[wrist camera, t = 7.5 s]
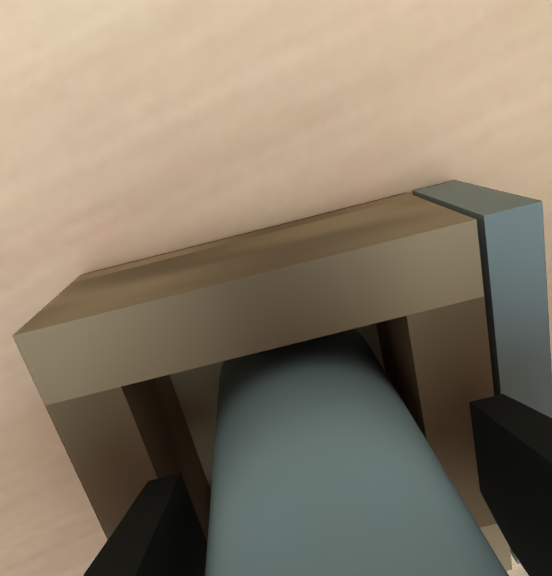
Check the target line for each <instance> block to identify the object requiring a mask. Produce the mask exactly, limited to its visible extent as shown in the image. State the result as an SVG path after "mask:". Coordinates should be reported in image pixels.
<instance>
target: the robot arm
mask: <svg viewBox="0 0 552 576" xmlns="http://www.w3.org/2000/svg"><path fill="white" fill-rule="evenodd" d="M469 405H470V413H471V422H472V430H473V438H474V446H475V454H476V462H477V470H478V479H479V487H480V492H481V494H482V496H483V498H484V500H485V502H486V504H487V506H488V508H489V509H490V511H491V513H492V515H493V517H494V519H495V521H496V523H497V525H498V526H499V528H500V530H501V532H502V534H503V536H504V537H505V539H506V541H507V543H508V545H509V546H510V548H511V550H512V551H513V553H514V554H515V556H516V557H517V559H518V560H519V562H520V563H521V564H522V566H523V567H524V569H525V570H526V572H527V573H528V575H529V576H552V418H550V417H548V416H546V415H544V414H542V413H540V412H538V411H536V410H534V409H533V408H531V407H529V406H527V405H525V404H523V403H521V402H519V401H517V400H515V399H512V398H510V397H508V396H506V395H504V394H500V395H496V396H492V397H487V398H483V399H479V400H475V401H471V402H469ZM206 554H207V541H206V538H205V536H204V533H203V530H202V528H201V525H200V522H199V520H198V517H197V514H196V512H195V509H194V506H193V504H192V501H191V498H190V496H189V493H188V490H187V488H186V485H185V483H184V480H183V477H182V475H181V473H178V474H174V475H170V476H166V477H162V478H158V479H154V480H149V481H148V482H147V483H146V485H145V486H144V488H143V489H142V490H141V492H140V493H139V495H138V496H137V498H136V499H135V501H134V502H133V504H132V505H131V507H130V508H129V510H128V511H127V513H126V514H125V516H124V517H123V518H122V520H121V521H120V523H119V524H118V526H117V527H116V529H115V530H114V532H113V533H112V535H111V536H110V538H109V539H108V541H107V542H106V544H105V545H104V546H103V548H102V549H101V551H100V552H99V554H98V555H97V557H96V558H95V559H94V561H93V562H92V564H91V565H90V567H89V568H88V569H87V571H86V572H85V574H84V575H83V576H205V568H206Z"/></svg>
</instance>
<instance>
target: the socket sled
mask: <svg viewBox="0 0 552 576" xmlns="http://www.w3.org/2000/svg"><path fill="white" fill-rule="evenodd" d="M351 329H356V330H357V331H358V332H359V333H360V334H361V335H362V336H363V337H364V339H365V340H366V341H367V343H368V345H369V346H370V348H371V349H372V351H373V353H374V354H375V356H376V358H377V359H378V361H379V363H380V364H381V366H382V368H383V369H384V371H385V372H386V374H387V376H388V377H389V379H390V381H391V382H392V384H393V386H394V387H395V389H396V391H397V392H398V394H399V396H400V397H401V399H402V401H403V402H404V404H405V405H406V407H407V409H408V410H409V412H410V414H411V415H412V417H413V419H414V420H415V422H416V424H417V425H418V427H419V429H420V430H421V432H422V433H423V435H424V437H425V438H426V440H427V442H428V443H429V445H430V447H431V448H432V450H433V452H434V453H435V455H436V457H437V458H438V460H439V461H440V463H441V465H442V466H443V468H444V470H445V471H446V473H447V475H448V476H449V478H450V480H451V481H452V483H453V485H454V486H455V488H456V490H457V491H458V493H459V494H460V496H461V498H462V499H463V501H464V503H465V504H466V506H467V508H468V509H469V511H470V513H471V514H472V516H473V518H474V519H475V521H476V522H477V524H478V526H479V527H480V529H481V531H482V532H483V534H484V536H485V537H486V539H487V541H488V542H489V544H490V546H491V547H492V549H493V550H494V552H495V554H496V555H497V557H498V559H499V560H500V562H501V564H502V565H503V567H504V569H505V570H506V571H507V570H512V564H511V554H510V546H509V545H508V543H507V541H506V539H505V537H504V536H503V534H502V532H501V530H500V528H499V526H498V525H497V523H496V521H495V519H494V517H493V515H492V513H491V511H490V509H489V508H488V506H487V504H486V502H485V500H484V498H483V496H482V494H481V492H480V487H479V479H478V470H477V462H476V454H475V446H474V438H473V430H472V422H471V413H470V405H469V402H471V401H475V400H479V399H483V398H487V397H492V396H494V387H493V377H492V367H491V358H490V348H489V338H488V328H487V318H486V309H485V299H484V289H483V279H482V269H481V259H480V250H479V240H478V230H477V220H476V219H474V218H472V217H469V216H466V215H464V214H461V213H459V212H456V211H453V210H451V209H448V208H446V207H443V206H440V205H438V204H435V203H432V202H430V201H427V200H425V199H422V198H419V197H417V196H414V195H412V194H409V193H405V194H401V195H397V196H393V197H389V198H385V199H381V200H377V201H373V202H369V203H365V204H361V205H357V206H353V207H349V208H345V209H341V210H337V211H333V212H329V213H325V214H321V215H317V216H314V217H310V218H306V219H302V220H298V221H294V222H290V223H286V224H282V225H278V226H274V227H270V228H266V229H262V230H258V231H254V232H250V233H246V234H242V235H238V236H234V237H230V238H226V239H222V240H218V241H214V242H210V243H206V244H203V245H199V246H195V247H191V248H187V249H183V250H179V251H175V252H171V253H167V254H163V255H159V256H155V257H151V258H147V259H143V260H139V261H135V262H131V263H127V264H123V265H119V266H115V267H111V268H107V269H103V270H99V271H96V272H92V273H88V274H84V275H80V276H79V277H78V278H77V279H76V280H74V281H73V282H72V283H71V284H70V285H69V286H68V287H67V288H65V289H64V290H63V291H62V292H61V293H60V294H59V295H58V296H57V297H55V298H54V299H53V300H52V301H51V302H50V303H49V304H48V305H46V306H45V307H44V308H43V309H42V310H41V311H40V312H39V313H37V314H36V315H35V316H34V317H33V318H32V319H31V320H30V321H29V322H27V323H26V324H25V325H24V326H23V327H22V328H21V329H20V330H18V331H17V332H16V333H15V334H14V335H13V338H14V340H15V342H16V344H17V347H18V349H19V351H20V353H21V355H22V357H23V359H24V361H25V364H26V366H27V368H28V370H29V372H30V374H31V376H32V379H33V381H34V383H35V385H36V387H37V389H38V391H39V394H40V396H41V398H42V400H43V402H44V404H45V406H46V409H47V411H48V413H49V415H50V417H51V419H52V421H53V424H54V426H55V428H56V430H57V432H58V434H59V436H60V439H61V441H62V443H63V445H64V447H65V449H66V451H67V454H68V456H69V458H70V460H71V462H72V464H73V466H74V469H75V471H76V473H77V475H78V477H79V479H80V481H81V483H82V486H83V488H84V490H85V492H86V494H87V496H88V498H89V501H90V503H91V505H92V507H93V509H94V511H95V513H96V516H97V518H98V520H99V522H100V524H101V526H102V528H103V531H104V533H105V535H106V537H107V539H109V538H110V536H111V535H112V533H113V532H114V530H115V529H116V527H117V526H118V524H119V523H120V521H121V520H122V518H123V517H124V516H125V514H126V513H127V511H128V510H129V508H130V507H131V505H132V504H133V502H134V501H135V499H136V498H137V496H138V495H139V493H140V492H141V490H142V489H143V488H144V486H145V485H146V483H147V482H148V481H149V480H154V479H158V478H162V477H166V476H170V475H174V474H178V473H181V475H182V477H183V480H184V483H185V485H186V488H187V490H188V493H189V496H190V498H191V501H192V504H193V506H194V509H195V512H196V514H197V517H198V520H199V522H200V525H201V528H202V530H203V533H204V536H205V538H206V541H208V527H209V514H210V500H211V486H212V473H213V459H214V445H215V432H216V418H217V404H218V391H219V377H220V372H221V367H222V364H223V362H224V361H226V360H230V359H234V358H238V357H242V356H246V355H250V354H254V353H258V352H262V351H266V350H270V349H274V348H278V347H282V346H286V345H290V344H294V343H298V342H302V341H306V340H310V339H314V338H318V337H322V336H327V335H331V334H335V333H339V332H343V331H347V330H351Z"/></svg>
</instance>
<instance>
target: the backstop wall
mask: <svg viewBox="0 0 552 576" xmlns="http://www.w3.org/2000/svg"><path fill="white" fill-rule="evenodd" d="M413 193H414V196H417V197H419V198H422V199H425V200H427V201H430V202H432V203H435V204H438V205H440V206H443V207H446V208H448V209H451V210H453V211H456V212H459V213H461V214H464V215H466V216H469V217H472V218H474V219H476V220H477V230H478V240H479V250H480V259H481V269H482V279H483V289H484V299H485V309H486V318H487V328H488V338H489V348H490V358H491V367H492V377H493V387H494V396H496V395H500V394H504V395H506V396H508V397H510V398H512V399H515V400H517V401H519V402H521V403H523V404H525V405H527V406H529V407H531V408H533V409H534V410H536V411H538V412H540V413H542V414H544V415H546V416H548V417H550V418H552V371H551V353H550V335H549V317H548V298H547V280H546V262H545V244H544V225H543V207H542V201H540V200H535V199H531V198H527V197H523V196H519V195H514V194H510V193H506V192H502V191H498V190H494V189H489V188H485V187H481V186H477V185H473V184H468V183H464V182H460V181H456V180H453V181H449V182H445V183H441V184H437V185H433V186H429V187H425V188H421V189H417V190H413ZM510 553H511V554H512V556H513V557H514V559H515V561H516V562H517V564H518V563H520V562H519V560H518V559H517V557H516V556H515V554H514V553H513V551H512V550H511V548H510Z"/></svg>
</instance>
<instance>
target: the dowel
mask: <svg viewBox="0 0 552 576" xmlns="http://www.w3.org/2000/svg"><path fill="white" fill-rule="evenodd" d="M205 576H509V575H508V574H507V572H506V570H505V569H504V567H503V565H502V564H501V562H500V560H499V559H498V557H497V555H496V554H495V552H494V550H493V549H492V547H491V546H490V544H489V542H488V541H487V539H486V537H485V536H484V534H483V532H482V531H481V529H480V527H479V526H478V524H477V522H476V521H475V519H474V518H473V516H472V514H471V513H470V511H469V509H468V508H467V506H466V504H465V503H464V501H463V499H462V498H461V496H460V494H459V493H458V491H457V490H456V488H455V486H454V485H453V483H452V481H451V480H450V478H449V476H448V475H447V473H446V471H445V470H444V468H443V466H442V465H441V463H440V461H439V460H438V458H437V457H436V455H435V453H434V452H433V450H432V448H431V447H430V445H429V443H428V442H427V440H426V438H425V437H424V435H423V433H422V432H421V430H420V429H419V427H418V425H417V424H416V422H415V420H414V419H413V417H412V415H411V414H410V412H409V410H408V409H407V407H406V405H405V404H404V402H403V401H402V399H401V397H400V396H399V394H398V392H397V391H396V389H395V387H394V386H393V384H392V382H391V381H390V379H389V377H388V376H387V374H386V372H385V371H384V369H383V368H382V366H381V364H380V363H379V361H378V359H377V358H376V356H375V354H374V353H373V351H372V349H371V348H370V346H369V345H368V343H367V341H366V340H365V339H364V337H363V336H362V335H361V334H360V333H359V332H358V331H357V330H356V329H351V330H347V331H343V332H339V333H335V334H331V335H327V336H322V337H318V338H314V339H310V340H306V341H302V342H298V343H294V344H290V345H286V346H282V347H278V348H274V349H270V350H266V351H262V352H258V353H254V354H250V355H246V356H242V357H238V358H234V359H230V360H226V361H224V362H223V364H222V367H221V372H220V377H219V391H218V404H217V418H216V432H215V445H214V459H213V473H212V486H211V500H210V514H209V527H208V541H207V554H206V568H205Z"/></svg>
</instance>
